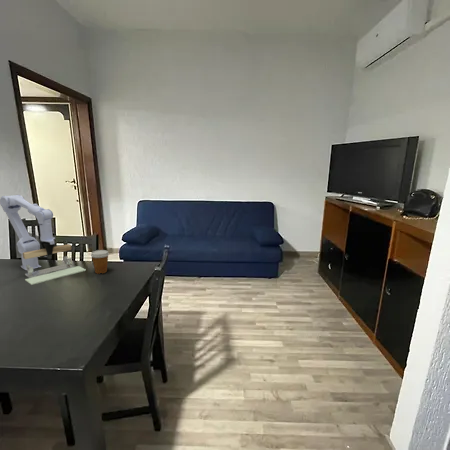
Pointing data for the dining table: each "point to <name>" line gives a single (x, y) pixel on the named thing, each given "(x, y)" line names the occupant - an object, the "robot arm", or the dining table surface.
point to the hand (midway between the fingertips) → (48, 254)
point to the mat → (54, 275)
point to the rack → (48, 269)
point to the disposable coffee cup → (100, 261)
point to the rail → (43, 251)
